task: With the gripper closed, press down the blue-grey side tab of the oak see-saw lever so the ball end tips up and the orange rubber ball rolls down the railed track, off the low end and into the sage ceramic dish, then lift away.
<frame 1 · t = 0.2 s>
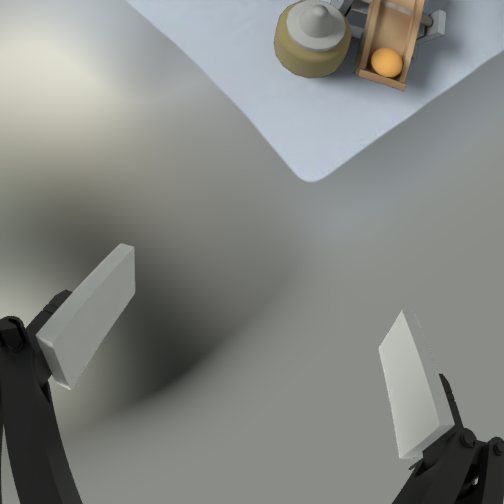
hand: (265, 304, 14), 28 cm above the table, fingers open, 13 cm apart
squeeze bottle: (308, 50, 30), on the table, touching fulcrum
ball: (386, 62, 23), point 8 cm above the table, tilted 8°, touching lever
fulcrum: (375, 23, 27), on the table
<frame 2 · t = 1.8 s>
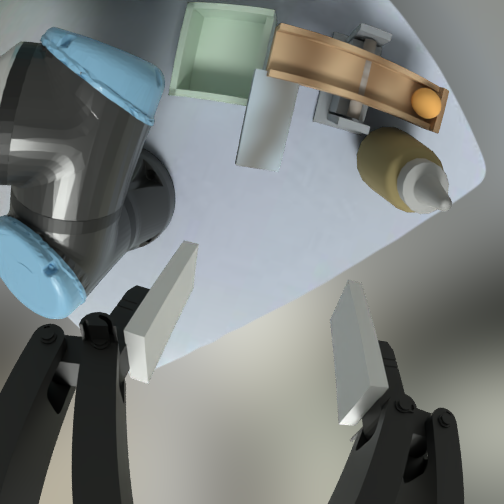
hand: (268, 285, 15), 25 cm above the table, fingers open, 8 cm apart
lever: (348, 108, 26), point 8 cm above the table, hinge at 15.0°, touching ball
squeeze bottle: (380, 154, 34), on the table, touching fulcrum
ball: (426, 103, 23), point 8 cm above the table, tilted 8°, touching lever
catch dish: (228, 56, 31), on the table
fulcrum: (347, 82, 31), on the table
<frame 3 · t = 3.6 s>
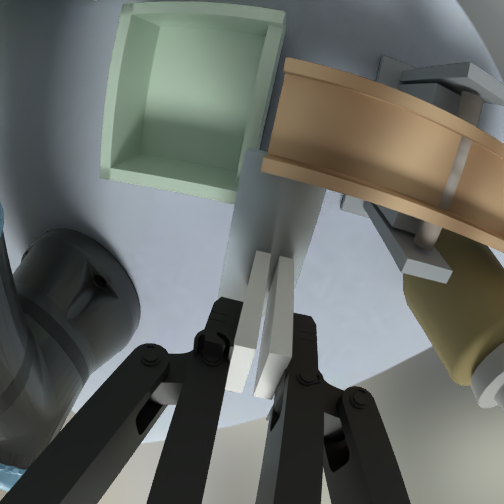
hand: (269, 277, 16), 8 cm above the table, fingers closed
lever: (418, 225, 14), point 8 cm above the table, hinge at -4.2°, touching ball, gripper
squeeze bottle: (431, 252, 23), on the table, touching fulcrum
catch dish: (201, 94, 19), on the table
fulcrum: (399, 144, 19), on the table
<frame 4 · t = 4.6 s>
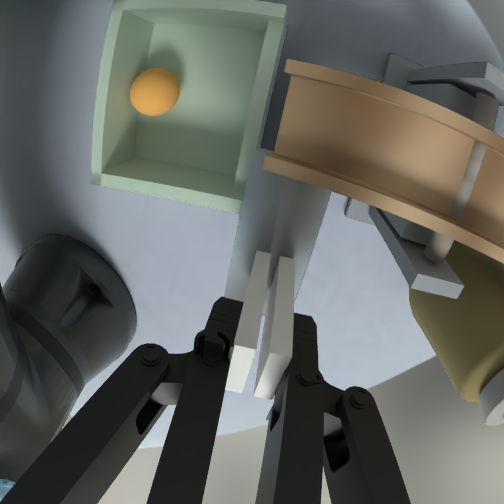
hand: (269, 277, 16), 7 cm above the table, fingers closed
lever: (429, 236, 13), point 7 cm above the table, hinge at -15.1°, touching gripper
squeeze bottle: (437, 260, 22), on the table, touching fulcrum
ball: (154, 91, 16), point 2 cm above the table, tilted 160°, touching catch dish
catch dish: (198, 94, 18), on the table
fulcrum: (407, 148, 18), on the table
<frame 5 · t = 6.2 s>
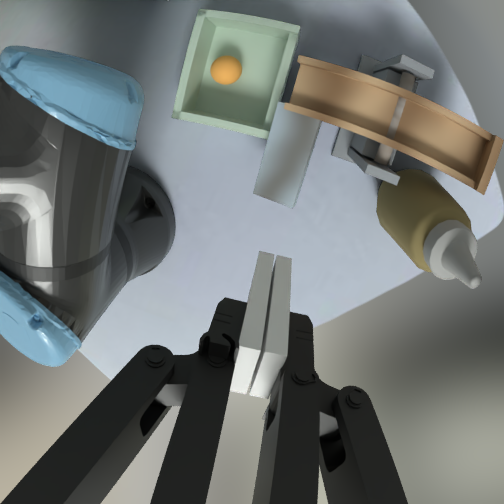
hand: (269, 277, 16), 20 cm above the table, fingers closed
lever: (378, 151, 23), point 7 cm above the table, hinge at -15.1°
squeeze bottle: (400, 194, 32), on the table, touching fulcrum
ball: (226, 69, 26), point 2 cm above the table, tilted 164°, touching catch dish
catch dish: (241, 74, 28), on the table
fulcrum: (373, 113, 28), on the table
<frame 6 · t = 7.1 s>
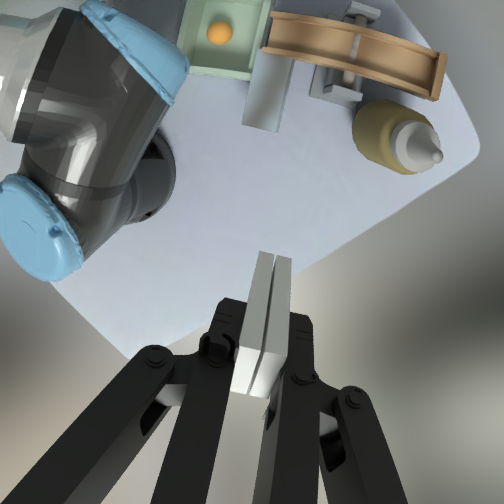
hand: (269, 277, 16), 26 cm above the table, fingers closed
lever: (343, 79, 26), point 7 cm above the table, hinge at -15.1°
squeeze bottle: (375, 128, 35), on the table, touching fulcrum
ball: (219, 33, 29), point 2 cm above the table, tilted 145°, touching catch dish
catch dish: (228, 36, 31), on the table
fulcrum: (342, 60, 31), on the table
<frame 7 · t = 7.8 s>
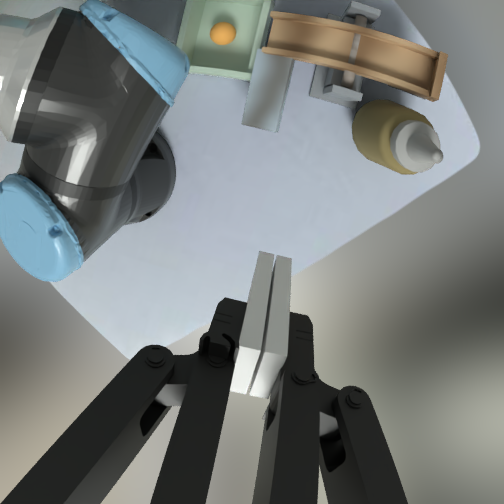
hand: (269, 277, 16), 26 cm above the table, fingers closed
lever: (343, 79, 26), point 7 cm above the table, hinge at -15.1°
squeeze bottle: (375, 128, 35), on the table, touching fulcrum
ball: (222, 33, 29), point 2 cm above the table, tilted 129°, touching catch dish
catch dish: (228, 36, 31), on the table
fulcrum: (342, 60, 31), on the table
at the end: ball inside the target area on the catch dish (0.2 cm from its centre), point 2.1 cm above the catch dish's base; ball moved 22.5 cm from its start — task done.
